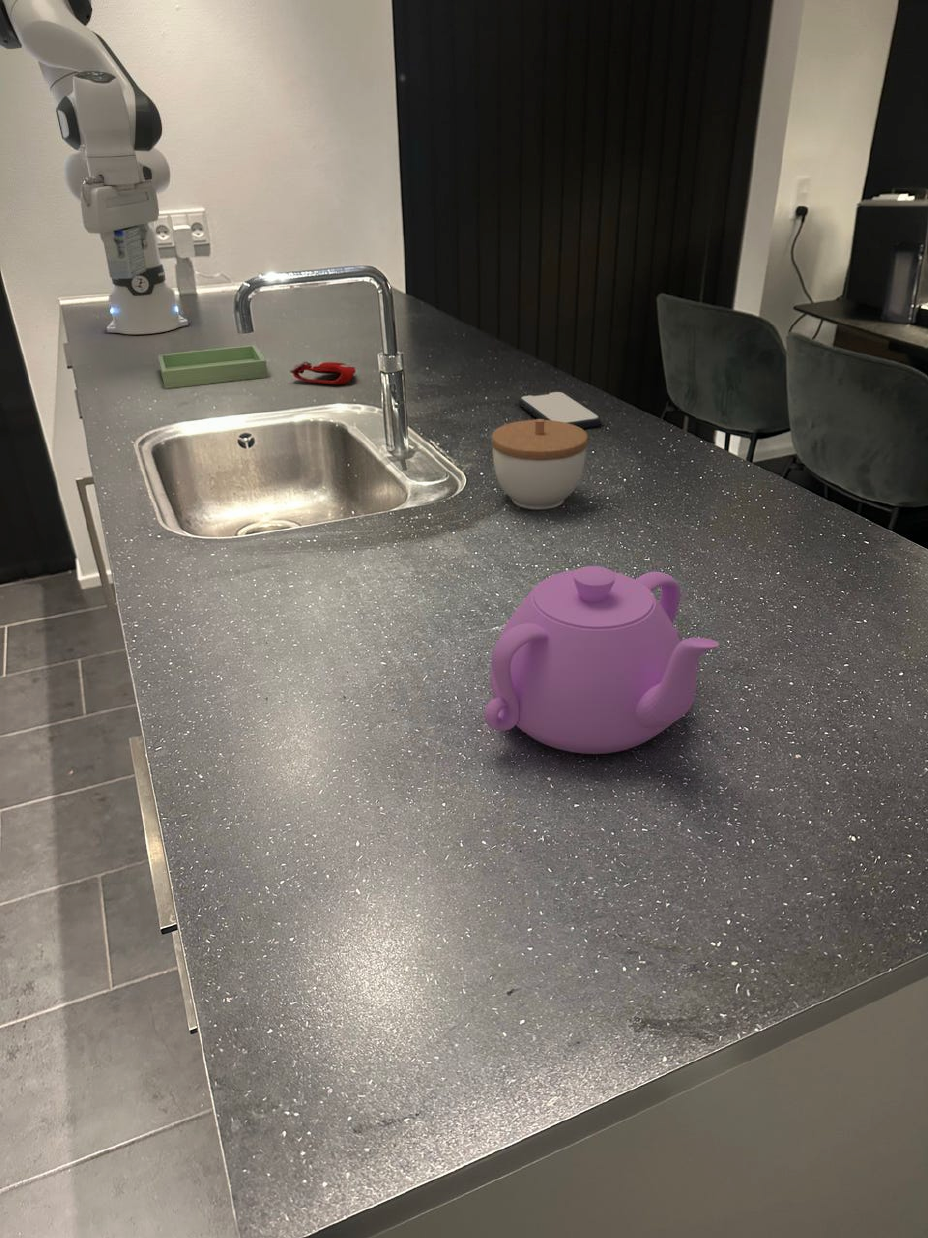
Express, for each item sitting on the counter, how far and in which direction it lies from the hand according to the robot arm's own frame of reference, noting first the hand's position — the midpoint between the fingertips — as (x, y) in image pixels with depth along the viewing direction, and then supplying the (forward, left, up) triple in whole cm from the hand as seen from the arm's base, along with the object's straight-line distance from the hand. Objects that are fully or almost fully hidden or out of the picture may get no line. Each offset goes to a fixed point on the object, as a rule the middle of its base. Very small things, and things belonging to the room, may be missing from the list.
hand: (129, 252), depth 174 cm
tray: (+10, +11, -22) cm, 27 cm away
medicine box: (0, -1, -4) cm, 4 cm away
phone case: (+61, +63, -22) cm, 91 cm away
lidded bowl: (+93, +45, -22) cm, 106 cm away
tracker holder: (+23, +31, -22) cm, 45 cm away
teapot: (+141, +30, -22) cm, 146 cm away
